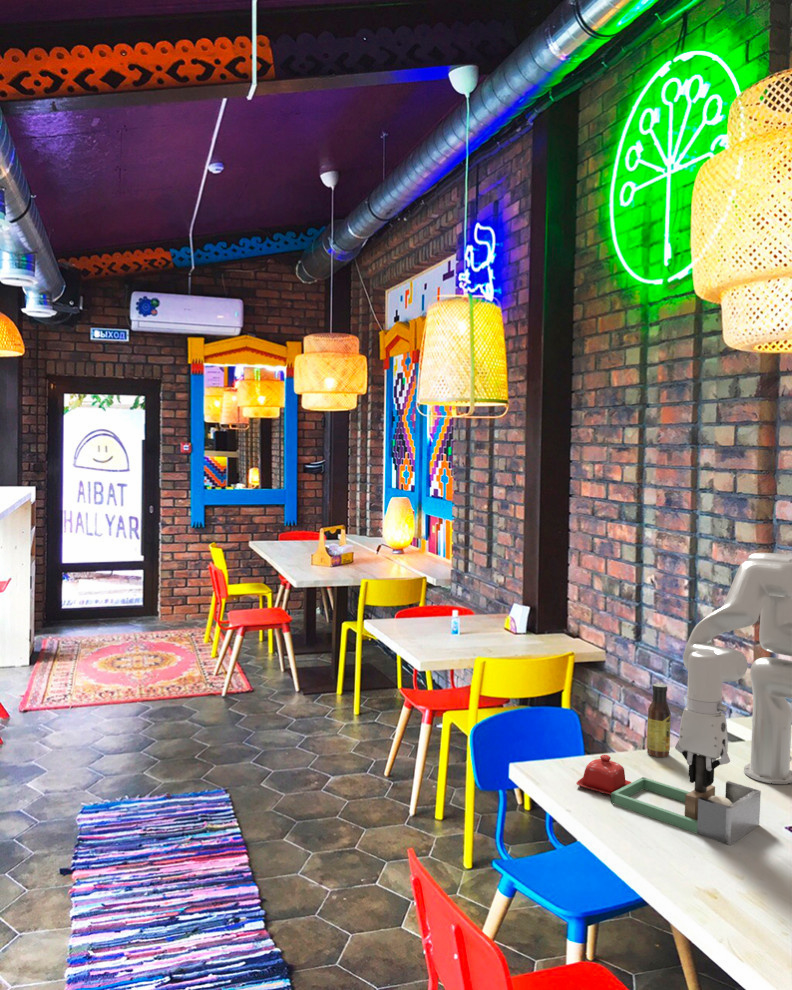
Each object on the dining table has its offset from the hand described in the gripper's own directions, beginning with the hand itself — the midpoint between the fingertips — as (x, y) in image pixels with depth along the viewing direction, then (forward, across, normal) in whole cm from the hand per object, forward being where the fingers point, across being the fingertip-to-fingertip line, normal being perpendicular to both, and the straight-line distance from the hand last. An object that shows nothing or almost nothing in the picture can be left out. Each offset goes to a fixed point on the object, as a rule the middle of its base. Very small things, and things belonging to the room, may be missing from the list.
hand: (700, 782), depth 193 cm
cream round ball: (+9, -5, 0) cm, 10 cm away
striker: (+9, 0, 0) cm, 9 cm away
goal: (+9, -7, 0) cm, 11 cm away
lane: (+9, +8, 0) cm, 12 cm away
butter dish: (+9, +25, 0) cm, 27 cm away
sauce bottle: (+9, +28, -32) cm, 43 cm away
